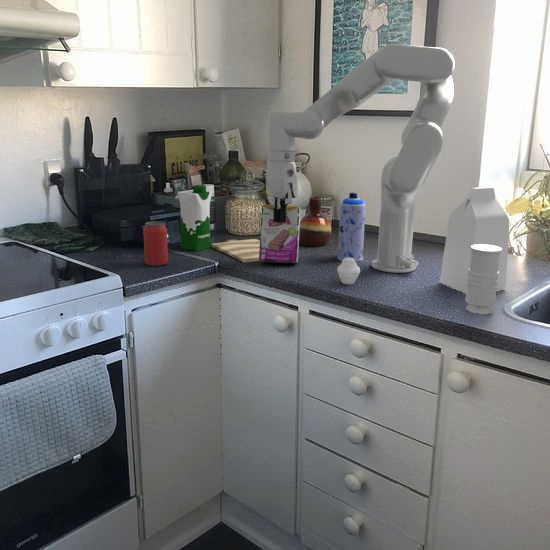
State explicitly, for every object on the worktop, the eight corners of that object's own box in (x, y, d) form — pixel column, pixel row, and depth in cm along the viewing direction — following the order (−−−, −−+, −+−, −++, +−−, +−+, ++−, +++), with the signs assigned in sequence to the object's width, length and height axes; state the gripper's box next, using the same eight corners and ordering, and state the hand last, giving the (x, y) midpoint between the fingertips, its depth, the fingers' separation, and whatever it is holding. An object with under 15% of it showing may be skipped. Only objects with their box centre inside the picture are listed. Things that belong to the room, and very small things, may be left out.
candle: (465, 313, 142) (472, 250, 138) (462, 304, 149) (468, 243, 145) (496, 316, 141) (504, 252, 137) (492, 306, 148) (499, 245, 144)
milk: (468, 295, 156) (479, 192, 148) (439, 282, 166) (448, 185, 158) (505, 290, 160) (518, 190, 153) (475, 278, 170) (485, 183, 163)
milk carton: (196, 252, 193) (195, 188, 187) (175, 247, 198) (173, 185, 192) (215, 247, 200) (214, 185, 194) (194, 243, 205) (193, 182, 199)
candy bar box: (258, 260, 179) (261, 204, 179) (260, 261, 184) (263, 206, 184) (297, 262, 178) (299, 205, 178) (298, 263, 182) (300, 207, 183)
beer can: (172, 263, 179) (171, 223, 176) (153, 268, 175) (152, 226, 171) (158, 259, 184) (157, 219, 180) (140, 263, 179) (138, 222, 176)
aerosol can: (335, 255, 192) (337, 191, 187) (359, 255, 193) (363, 191, 187) (339, 262, 185) (343, 195, 179) (365, 261, 185) (369, 195, 180)
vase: (295, 240, 211) (296, 195, 207) (327, 240, 212) (329, 195, 208) (299, 248, 201) (301, 200, 196) (333, 247, 202) (335, 200, 197)
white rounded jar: (347, 287, 160) (348, 261, 158) (331, 281, 165) (332, 256, 163) (364, 283, 164) (366, 258, 162) (348, 278, 168) (350, 253, 167)
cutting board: (290, 256, 190) (290, 253, 190) (243, 262, 182) (243, 259, 182) (251, 240, 210) (251, 237, 210) (208, 245, 202) (208, 242, 202)
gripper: (307, 158, 167) (305, 225, 173) (278, 153, 180) (277, 216, 185) (284, 159, 164) (282, 228, 169) (256, 154, 176) (255, 218, 181)
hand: (279, 221), depth 177 cm, fingers closed
